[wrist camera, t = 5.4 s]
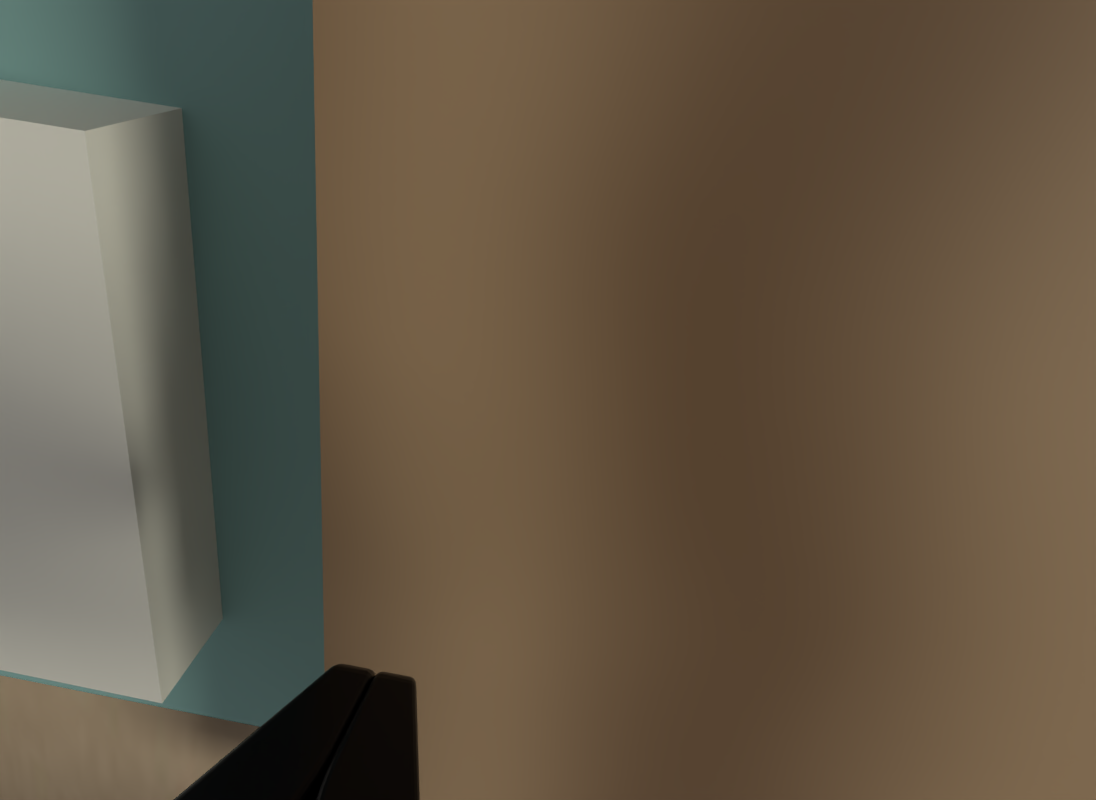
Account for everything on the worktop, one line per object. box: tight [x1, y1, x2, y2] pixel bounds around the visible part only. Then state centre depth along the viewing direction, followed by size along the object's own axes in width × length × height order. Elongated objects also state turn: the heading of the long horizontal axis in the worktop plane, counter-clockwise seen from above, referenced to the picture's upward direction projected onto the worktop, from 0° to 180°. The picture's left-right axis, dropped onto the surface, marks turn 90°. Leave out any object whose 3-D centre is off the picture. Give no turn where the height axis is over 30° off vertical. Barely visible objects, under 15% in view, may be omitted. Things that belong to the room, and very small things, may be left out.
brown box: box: [313, 0, 1096, 800], centre depth 11 cm, size 10×16×4 cm, turn 173°
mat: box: [0, 0, 325, 727], centre depth 13 cm, size 9×14×1 cm, turn 173°
